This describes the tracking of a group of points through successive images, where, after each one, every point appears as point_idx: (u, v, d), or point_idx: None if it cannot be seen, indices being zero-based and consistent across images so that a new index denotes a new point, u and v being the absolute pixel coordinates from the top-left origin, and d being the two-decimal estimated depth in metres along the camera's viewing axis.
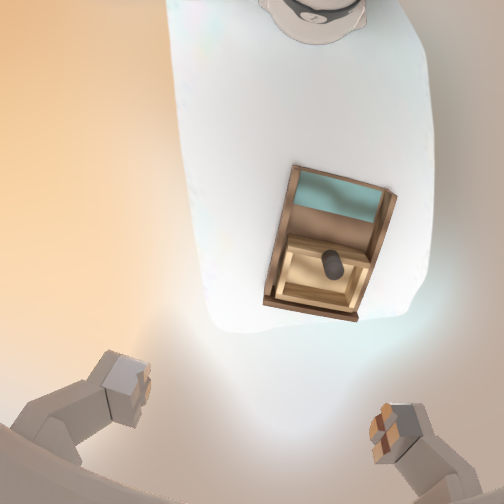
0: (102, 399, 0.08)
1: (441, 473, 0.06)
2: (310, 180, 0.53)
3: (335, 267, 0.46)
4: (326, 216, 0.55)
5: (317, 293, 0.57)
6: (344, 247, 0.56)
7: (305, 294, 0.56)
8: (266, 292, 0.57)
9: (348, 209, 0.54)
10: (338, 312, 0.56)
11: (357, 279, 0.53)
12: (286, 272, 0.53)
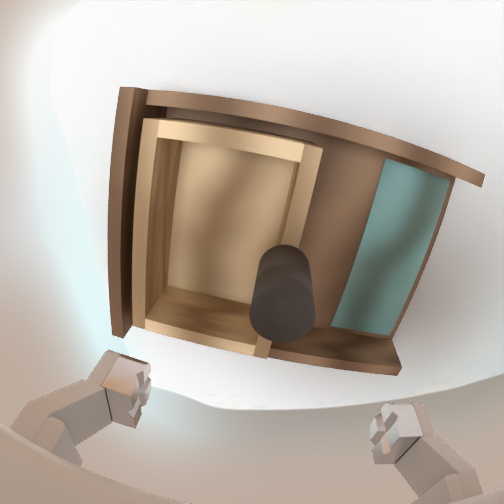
0: (102, 399, 0.08)
1: (441, 473, 0.06)
2: (430, 200, 0.22)
3: (297, 318, 0.14)
4: (351, 232, 0.24)
5: (163, 230, 0.22)
6: None
7: (159, 202, 0.20)
8: (155, 94, 0.17)
9: (362, 278, 0.25)
10: (124, 291, 0.22)
11: (219, 328, 0.22)
12: (232, 144, 0.16)
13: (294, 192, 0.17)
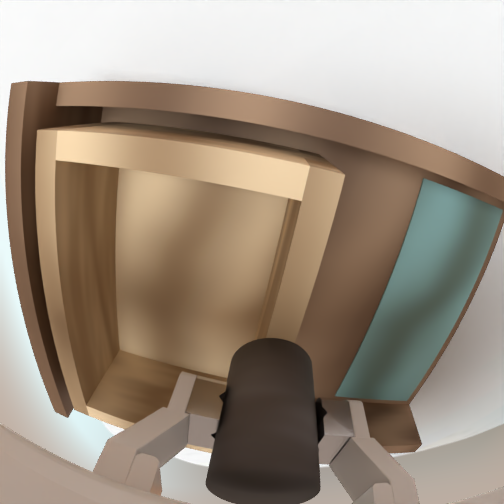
0: (185, 425, 0.08)
1: (374, 481, 0.06)
2: (478, 237, 0.14)
3: (288, 492, 0.06)
4: (370, 285, 0.16)
5: (97, 290, 0.14)
6: None
7: (80, 257, 0.12)
8: (67, 88, 0.10)
9: (380, 341, 0.18)
10: (57, 368, 0.14)
11: None
12: (173, 167, 0.09)
13: (289, 255, 0.09)
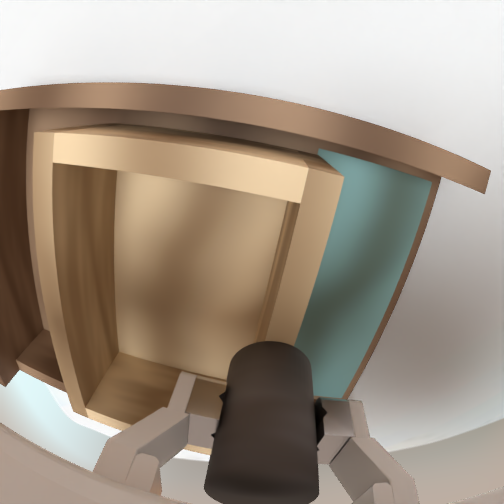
0: (185, 425, 0.08)
1: (374, 481, 0.06)
2: (400, 213, 0.14)
3: (286, 496, 0.06)
4: None
5: (96, 292, 0.14)
6: None
7: (78, 259, 0.12)
8: None
9: None
10: None
11: None
12: (171, 170, 0.08)
13: (288, 258, 0.09)
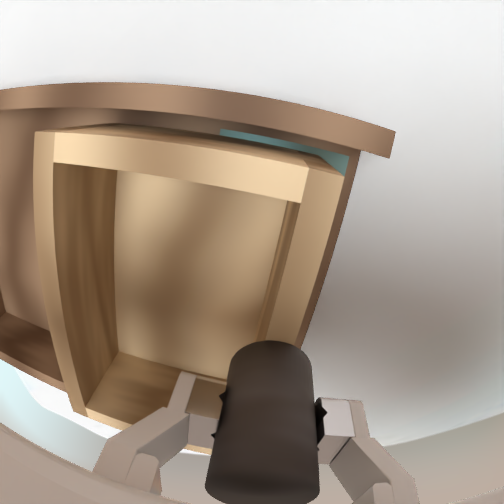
0: (185, 425, 0.08)
1: (374, 480, 0.06)
2: None
3: (287, 495, 0.06)
4: None
5: (96, 292, 0.14)
6: None
7: (79, 258, 0.12)
8: None
9: None
10: None
11: None
12: (171, 170, 0.08)
13: (288, 258, 0.09)
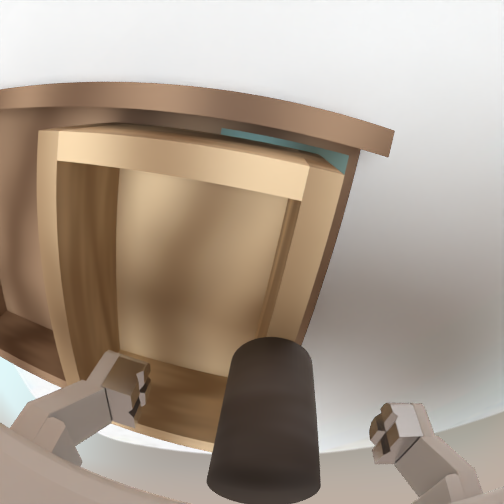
0: (102, 399, 0.08)
1: (441, 473, 0.06)
2: None
3: (288, 489, 0.07)
4: None
5: (98, 290, 0.14)
6: None
7: (81, 257, 0.12)
8: None
9: None
10: None
11: (184, 421, 0.15)
12: (174, 168, 0.09)
13: (289, 255, 0.09)
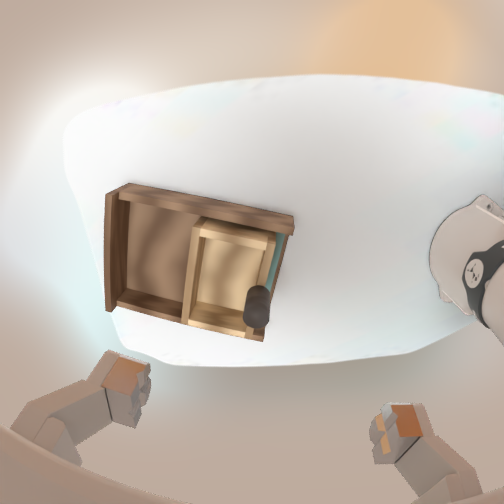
0: (102, 399, 0.08)
1: (441, 473, 0.06)
2: None
3: (261, 318, 0.35)
4: None
5: (197, 274, 0.43)
6: None
7: (197, 262, 0.41)
8: (122, 194, 0.39)
9: None
10: (112, 287, 0.43)
11: (226, 323, 0.43)
12: (235, 242, 0.38)
13: (262, 263, 0.38)
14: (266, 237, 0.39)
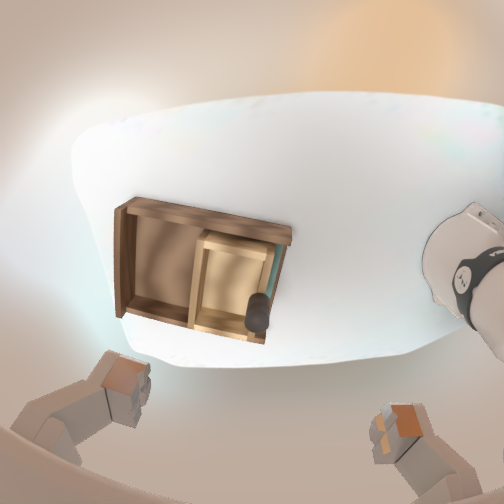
0: (102, 399, 0.08)
1: (441, 473, 0.06)
2: None
3: (262, 324, 0.38)
4: None
5: (202, 282, 0.46)
6: None
7: (202, 271, 0.44)
8: (130, 208, 0.42)
9: None
10: (121, 295, 0.46)
11: (230, 328, 0.46)
12: (236, 253, 0.40)
13: (262, 272, 0.41)
14: (265, 248, 0.42)
